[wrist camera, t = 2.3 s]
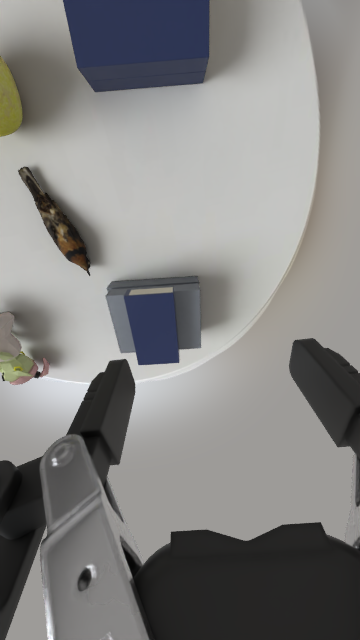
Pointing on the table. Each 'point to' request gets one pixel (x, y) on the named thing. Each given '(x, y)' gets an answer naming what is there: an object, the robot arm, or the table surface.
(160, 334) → the navy book
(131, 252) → the table surface
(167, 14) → the navy stack
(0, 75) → the fruit
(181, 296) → the grey stack
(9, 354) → the figurine
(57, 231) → the bird model
